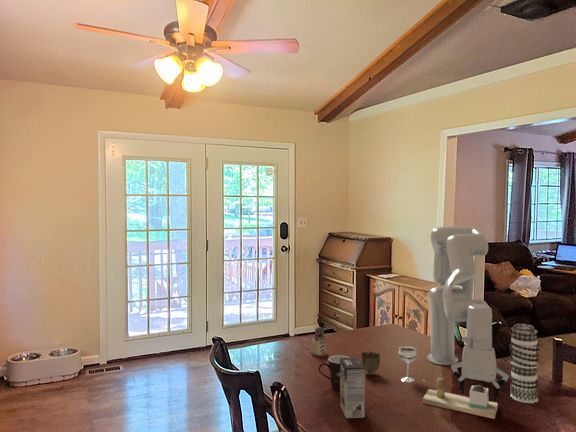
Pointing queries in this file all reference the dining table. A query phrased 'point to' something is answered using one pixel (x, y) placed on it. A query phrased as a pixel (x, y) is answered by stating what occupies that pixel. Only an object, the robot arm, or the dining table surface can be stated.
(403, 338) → the dining table surface
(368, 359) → the cup
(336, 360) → the coffee mug
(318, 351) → the figurine
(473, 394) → the sleeve
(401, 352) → the wineglass
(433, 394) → the pin board
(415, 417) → the dining table surface
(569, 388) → the dining table surface
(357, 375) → the coffee box
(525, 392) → the decorative candle
